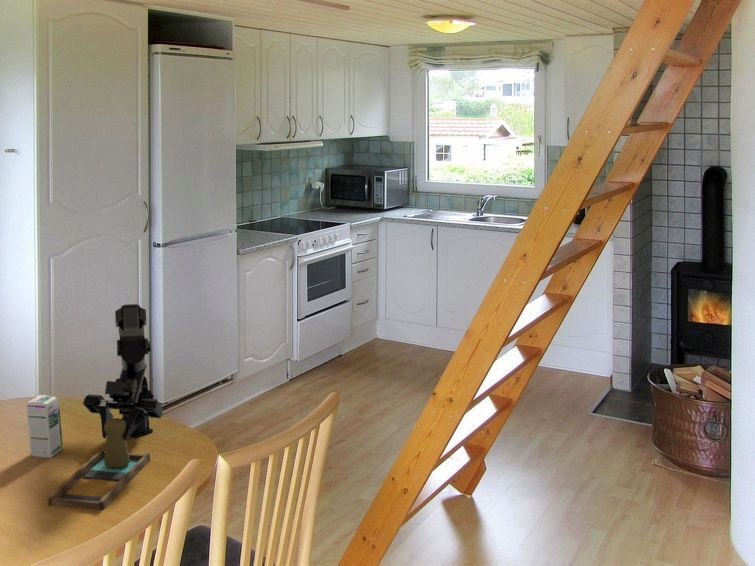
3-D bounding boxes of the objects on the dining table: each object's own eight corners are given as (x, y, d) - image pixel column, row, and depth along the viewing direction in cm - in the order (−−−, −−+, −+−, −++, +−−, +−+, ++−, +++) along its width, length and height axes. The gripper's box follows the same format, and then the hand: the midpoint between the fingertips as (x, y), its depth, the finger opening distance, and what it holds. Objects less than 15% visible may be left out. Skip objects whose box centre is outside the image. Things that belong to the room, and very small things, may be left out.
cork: (118, 454, 225) (116, 413, 222) (135, 461, 222) (133, 419, 219) (99, 463, 220) (96, 421, 218) (115, 469, 217) (113, 426, 214)
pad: (104, 458, 225) (103, 457, 225) (143, 462, 224) (143, 460, 224) (90, 471, 218) (90, 469, 218) (131, 474, 217) (131, 473, 217)
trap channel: (101, 456, 226) (100, 449, 226) (149, 460, 225) (149, 453, 224) (48, 505, 201) (48, 496, 200) (102, 509, 199) (102, 501, 199)
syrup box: (51, 458, 225) (47, 403, 222) (29, 456, 226) (25, 401, 223) (63, 449, 231) (59, 395, 227) (42, 447, 232) (38, 393, 228)
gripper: (84, 363, 221) (65, 422, 213) (156, 368, 218) (140, 428, 210) (99, 383, 230) (82, 440, 222) (169, 388, 228) (154, 446, 220)
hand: (114, 438), depth 219 cm, fingers closed on cork, 5 cm apart
